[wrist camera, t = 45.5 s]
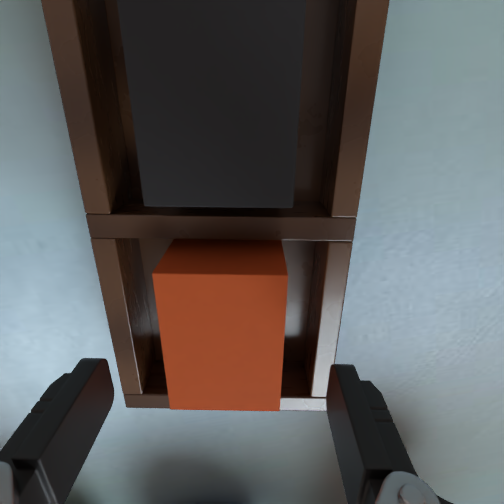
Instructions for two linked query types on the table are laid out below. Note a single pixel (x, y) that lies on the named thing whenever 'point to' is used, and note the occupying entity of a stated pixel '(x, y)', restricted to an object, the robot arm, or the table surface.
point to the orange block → (222, 323)
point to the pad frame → (223, 218)
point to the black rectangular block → (215, 99)
